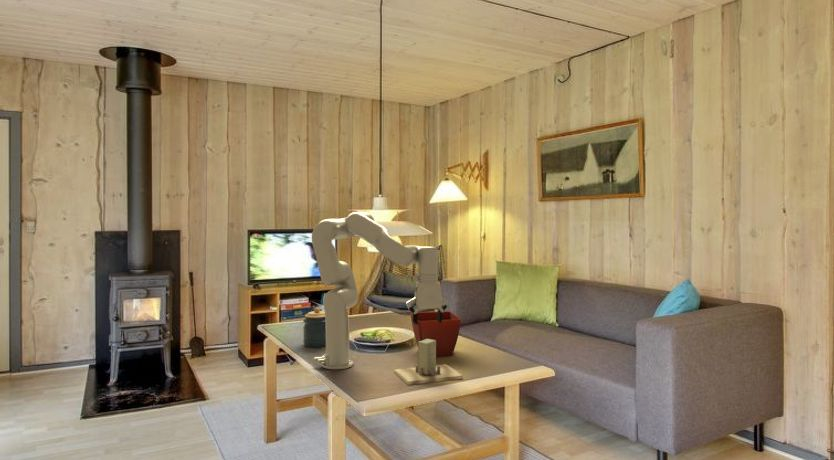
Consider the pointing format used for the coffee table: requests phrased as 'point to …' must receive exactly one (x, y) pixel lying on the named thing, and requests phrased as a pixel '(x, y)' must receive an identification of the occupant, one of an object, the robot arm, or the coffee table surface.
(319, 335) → the canister
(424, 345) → the skincare box
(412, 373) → the pin tray
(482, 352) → the coffee table surface
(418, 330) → the plant pot
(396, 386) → the coffee table surface
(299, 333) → the coffee table surface
